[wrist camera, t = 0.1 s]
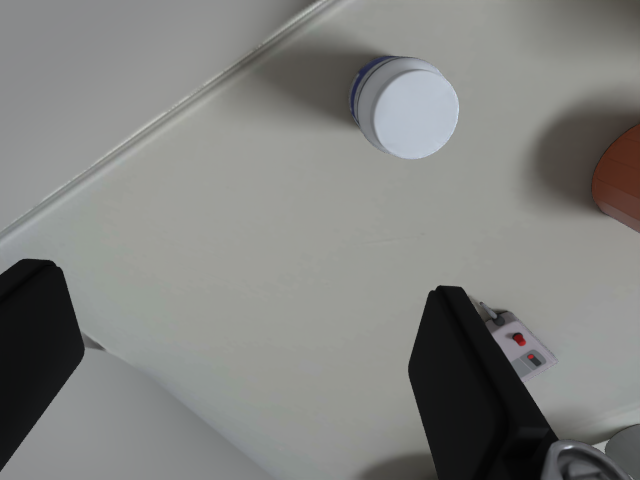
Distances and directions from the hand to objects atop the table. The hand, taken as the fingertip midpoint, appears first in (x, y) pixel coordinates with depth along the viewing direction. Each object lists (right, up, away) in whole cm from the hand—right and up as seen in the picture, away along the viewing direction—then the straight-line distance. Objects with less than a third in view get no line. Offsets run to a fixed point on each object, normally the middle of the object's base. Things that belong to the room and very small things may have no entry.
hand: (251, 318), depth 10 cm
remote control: (+22, -10, +32) cm, 40 cm away
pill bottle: (+7, +13, +19) cm, 24 cm away
